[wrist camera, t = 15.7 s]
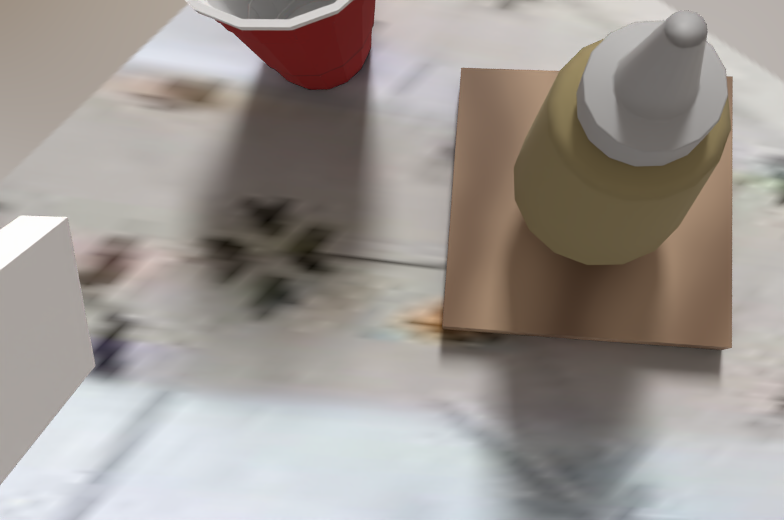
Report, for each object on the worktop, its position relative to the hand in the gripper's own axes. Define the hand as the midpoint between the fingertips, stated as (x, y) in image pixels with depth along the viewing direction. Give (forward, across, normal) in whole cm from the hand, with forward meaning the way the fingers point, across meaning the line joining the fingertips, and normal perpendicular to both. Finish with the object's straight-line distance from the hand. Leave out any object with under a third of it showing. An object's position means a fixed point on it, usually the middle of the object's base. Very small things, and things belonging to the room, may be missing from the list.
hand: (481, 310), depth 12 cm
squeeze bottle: (+26, +7, -8) cm, 28 cm away
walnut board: (+28, +7, -8) cm, 30 cm away
